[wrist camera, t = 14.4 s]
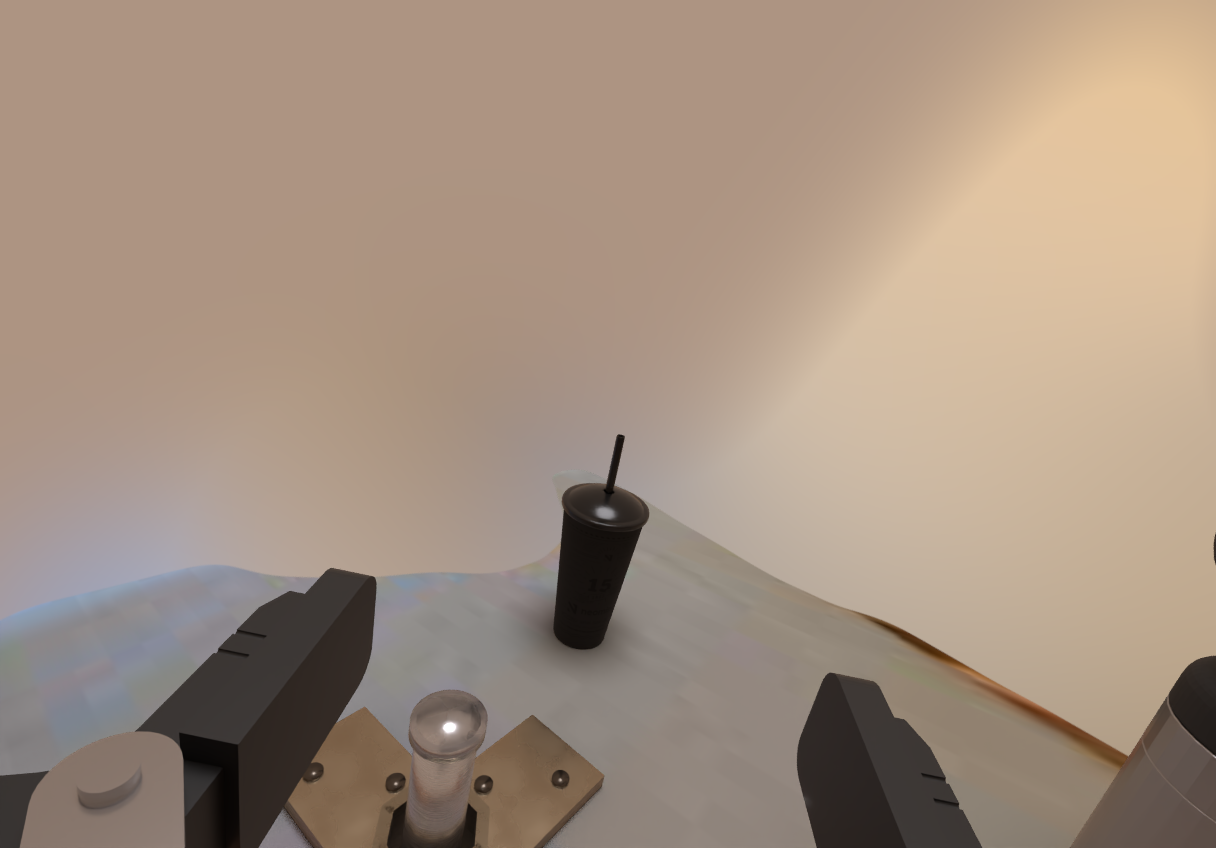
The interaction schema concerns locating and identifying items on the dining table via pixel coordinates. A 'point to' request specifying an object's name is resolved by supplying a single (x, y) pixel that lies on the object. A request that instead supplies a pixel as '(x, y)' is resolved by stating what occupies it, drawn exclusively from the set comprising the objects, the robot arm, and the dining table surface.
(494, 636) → the dining table surface
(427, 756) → the hinge pin
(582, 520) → the drinking cup
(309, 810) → the hinge base
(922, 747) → the robot arm
